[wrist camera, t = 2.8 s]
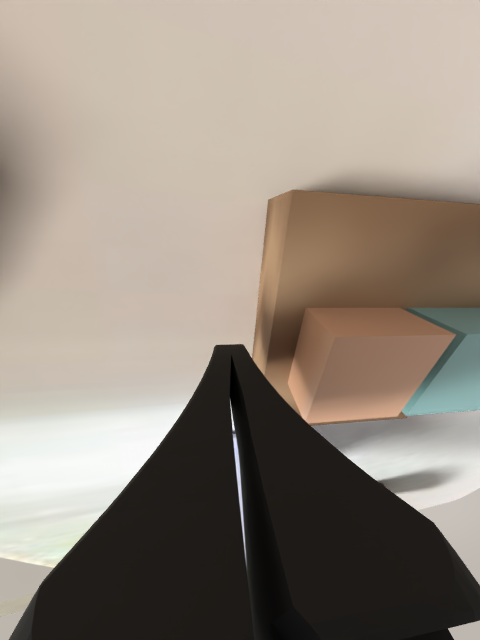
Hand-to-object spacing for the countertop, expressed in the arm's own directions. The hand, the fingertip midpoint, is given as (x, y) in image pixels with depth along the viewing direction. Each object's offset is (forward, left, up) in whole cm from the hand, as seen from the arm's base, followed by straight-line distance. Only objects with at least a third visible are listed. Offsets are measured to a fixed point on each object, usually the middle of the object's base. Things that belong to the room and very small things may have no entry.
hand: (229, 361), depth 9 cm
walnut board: (0, -8, -4) cm, 9 cm away
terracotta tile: (0, -6, -1) cm, 6 cm away
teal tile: (0, -12, -1) cm, 12 cm away
